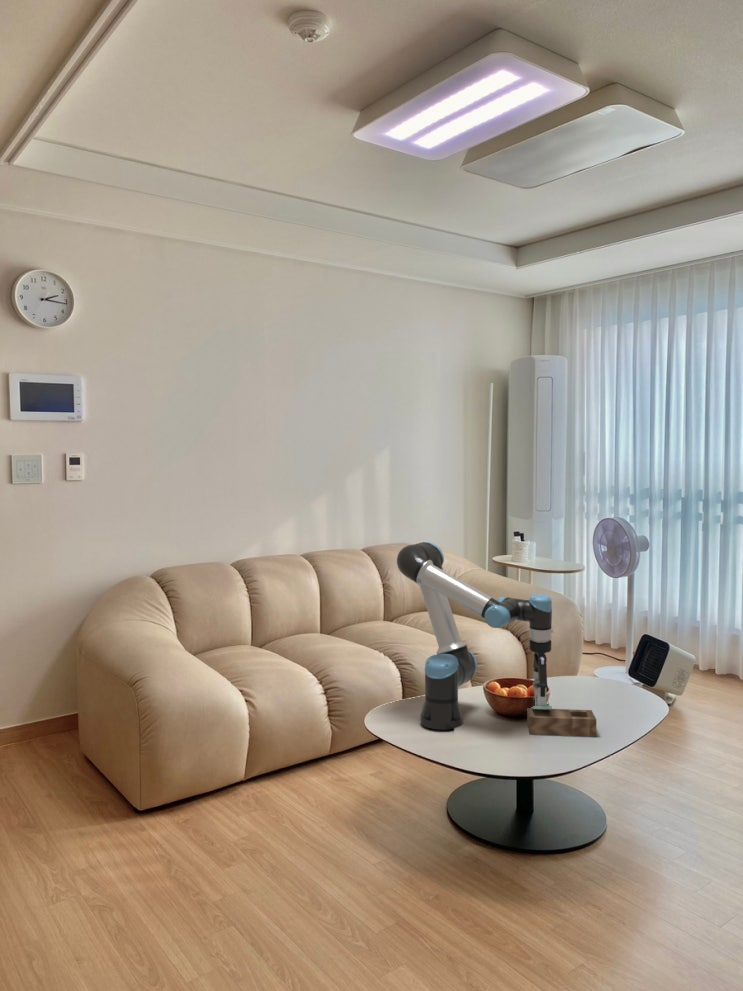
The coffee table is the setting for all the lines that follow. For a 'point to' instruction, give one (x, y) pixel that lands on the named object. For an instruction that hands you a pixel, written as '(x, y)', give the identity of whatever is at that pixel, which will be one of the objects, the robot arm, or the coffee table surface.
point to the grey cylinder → (537, 692)
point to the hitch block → (561, 722)
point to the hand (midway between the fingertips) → (539, 697)
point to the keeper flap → (541, 707)
